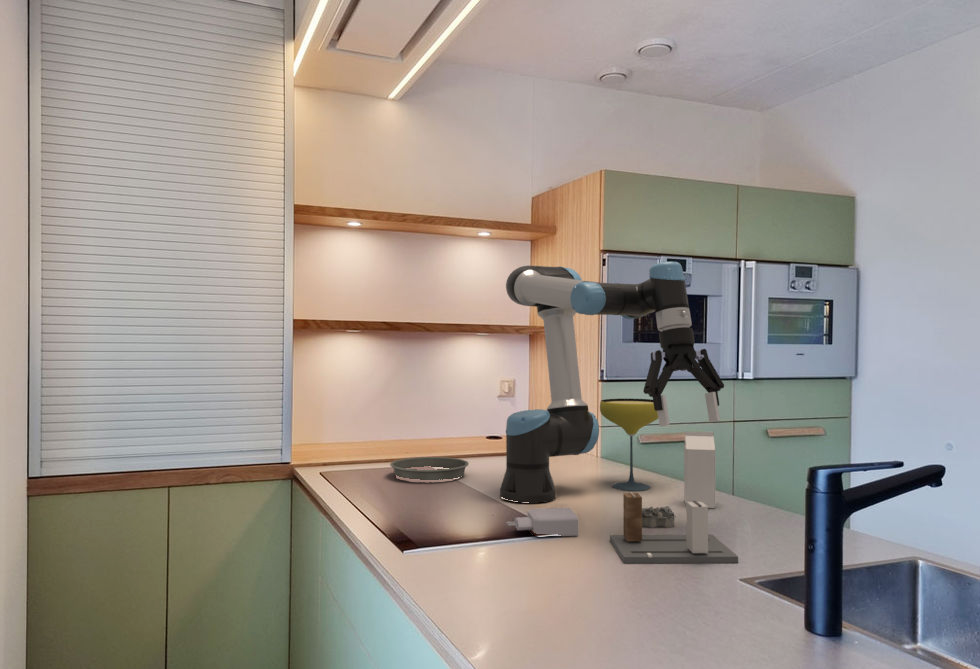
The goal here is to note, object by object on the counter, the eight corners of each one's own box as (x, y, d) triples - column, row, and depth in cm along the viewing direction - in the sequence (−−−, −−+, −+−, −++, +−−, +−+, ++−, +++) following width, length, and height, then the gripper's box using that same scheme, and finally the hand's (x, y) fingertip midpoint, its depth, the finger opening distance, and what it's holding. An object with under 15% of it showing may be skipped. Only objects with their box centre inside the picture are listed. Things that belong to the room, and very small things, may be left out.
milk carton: (715, 509, 176) (715, 433, 176) (686, 507, 178) (686, 433, 178) (712, 502, 183) (712, 430, 183) (684, 501, 184) (684, 429, 185)
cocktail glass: (631, 478, 215) (631, 397, 215) (676, 488, 200) (676, 401, 200) (587, 485, 205) (587, 400, 205) (631, 496, 190) (631, 405, 190)
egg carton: (629, 528, 159) (629, 510, 159) (625, 520, 167) (624, 503, 167) (676, 529, 158) (676, 511, 158) (670, 520, 166) (670, 503, 166)
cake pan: (483, 479, 215) (483, 464, 215) (413, 488, 202) (413, 473, 202) (443, 467, 236) (443, 453, 236) (377, 475, 222) (377, 460, 222)
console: (624, 563, 133) (624, 555, 133) (609, 540, 149) (609, 533, 149) (738, 563, 133) (738, 555, 133) (712, 540, 149) (712, 532, 149)
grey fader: (692, 553, 135) (692, 505, 135) (686, 546, 139) (686, 500, 139) (708, 553, 135) (707, 505, 135) (701, 546, 139) (701, 500, 139)
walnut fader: (627, 541, 143) (627, 496, 143) (623, 535, 147) (623, 491, 147) (642, 541, 143) (641, 496, 143) (637, 535, 147) (637, 491, 147)
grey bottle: (503, 529, 159) (567, 526, 161) (510, 540, 149) (578, 538, 151) (503, 508, 159) (567, 506, 161) (510, 518, 149) (578, 516, 151)
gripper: (638, 326, 149) (653, 425, 145) (730, 325, 159) (746, 418, 154) (619, 334, 156) (632, 429, 152) (708, 332, 165) (723, 421, 161)
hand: (690, 423), depth 153 cm, fingers open, 13 cm apart
